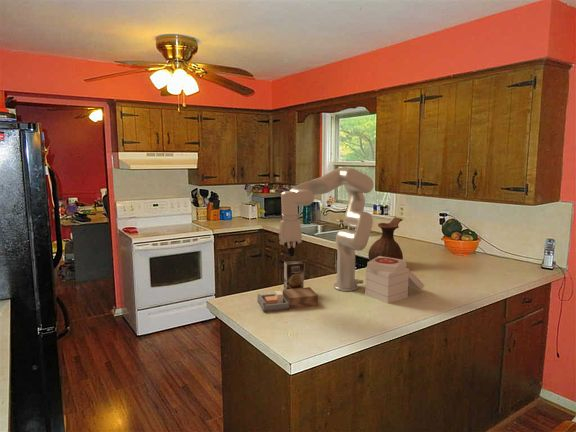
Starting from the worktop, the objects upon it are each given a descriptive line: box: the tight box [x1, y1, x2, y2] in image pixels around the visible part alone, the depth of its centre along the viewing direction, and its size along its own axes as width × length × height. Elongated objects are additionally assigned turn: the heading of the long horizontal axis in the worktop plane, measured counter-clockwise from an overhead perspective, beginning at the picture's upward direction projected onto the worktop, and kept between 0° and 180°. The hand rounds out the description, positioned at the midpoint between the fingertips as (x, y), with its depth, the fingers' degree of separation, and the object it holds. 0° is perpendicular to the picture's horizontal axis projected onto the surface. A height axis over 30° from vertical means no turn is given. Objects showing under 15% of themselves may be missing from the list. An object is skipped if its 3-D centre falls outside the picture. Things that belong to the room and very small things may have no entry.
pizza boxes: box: [364, 256, 425, 304], centre depth 210 cm, size 19×30×18 cm, turn 125°
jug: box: [368, 216, 404, 261], centre depth 258 cm, size 22×22×30 cm
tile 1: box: [265, 296, 277, 305], centre depth 194 cm, size 5×5×3 cm
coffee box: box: [283, 260, 305, 290], centre depth 211 cm, size 9×6×16 cm
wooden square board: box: [282, 286, 319, 309], centre depth 198 cm, size 14×12×5 cm
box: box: [257, 293, 290, 313], centre depth 194 cm, size 12×14×4 cm
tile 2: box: [274, 290, 283, 304], centre depth 195 cm, size 5×5×3 cm
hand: (291, 255), depth 195 cm, fingers closed
